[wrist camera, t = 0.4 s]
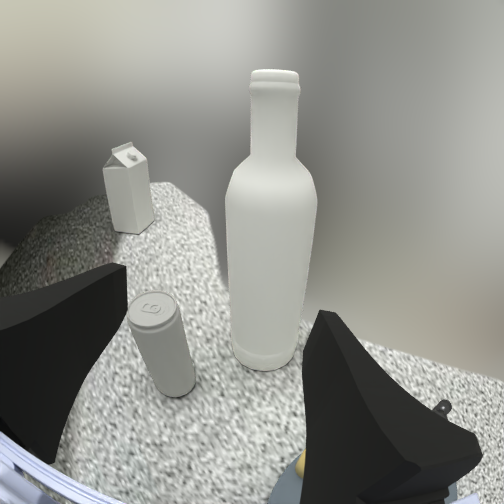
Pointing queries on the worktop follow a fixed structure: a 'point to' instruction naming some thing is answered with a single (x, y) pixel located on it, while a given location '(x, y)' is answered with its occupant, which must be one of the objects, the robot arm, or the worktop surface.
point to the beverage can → (162, 341)
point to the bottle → (269, 228)
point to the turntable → (290, 482)
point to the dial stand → (443, 408)
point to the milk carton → (128, 190)
